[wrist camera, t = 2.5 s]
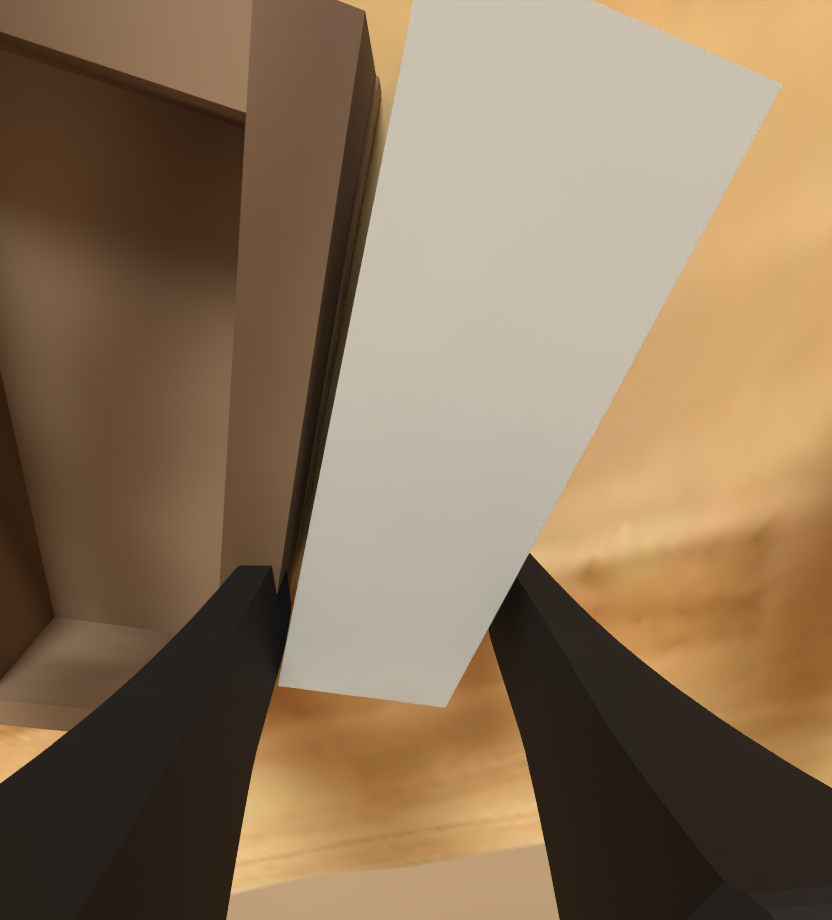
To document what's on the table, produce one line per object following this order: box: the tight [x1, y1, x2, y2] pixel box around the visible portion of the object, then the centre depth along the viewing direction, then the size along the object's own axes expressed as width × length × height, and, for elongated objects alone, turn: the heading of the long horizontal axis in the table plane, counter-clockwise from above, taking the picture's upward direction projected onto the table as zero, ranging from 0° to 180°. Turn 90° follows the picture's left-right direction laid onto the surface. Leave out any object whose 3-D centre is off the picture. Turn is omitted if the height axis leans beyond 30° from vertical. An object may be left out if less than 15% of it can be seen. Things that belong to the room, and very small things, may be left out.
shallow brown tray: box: [0, 0, 381, 731], centre depth 9 cm, size 8×16×4 cm, turn 165°
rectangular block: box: [278, 0, 783, 708], centre depth 9 cm, size 4×12×4 cm, turn 165°
